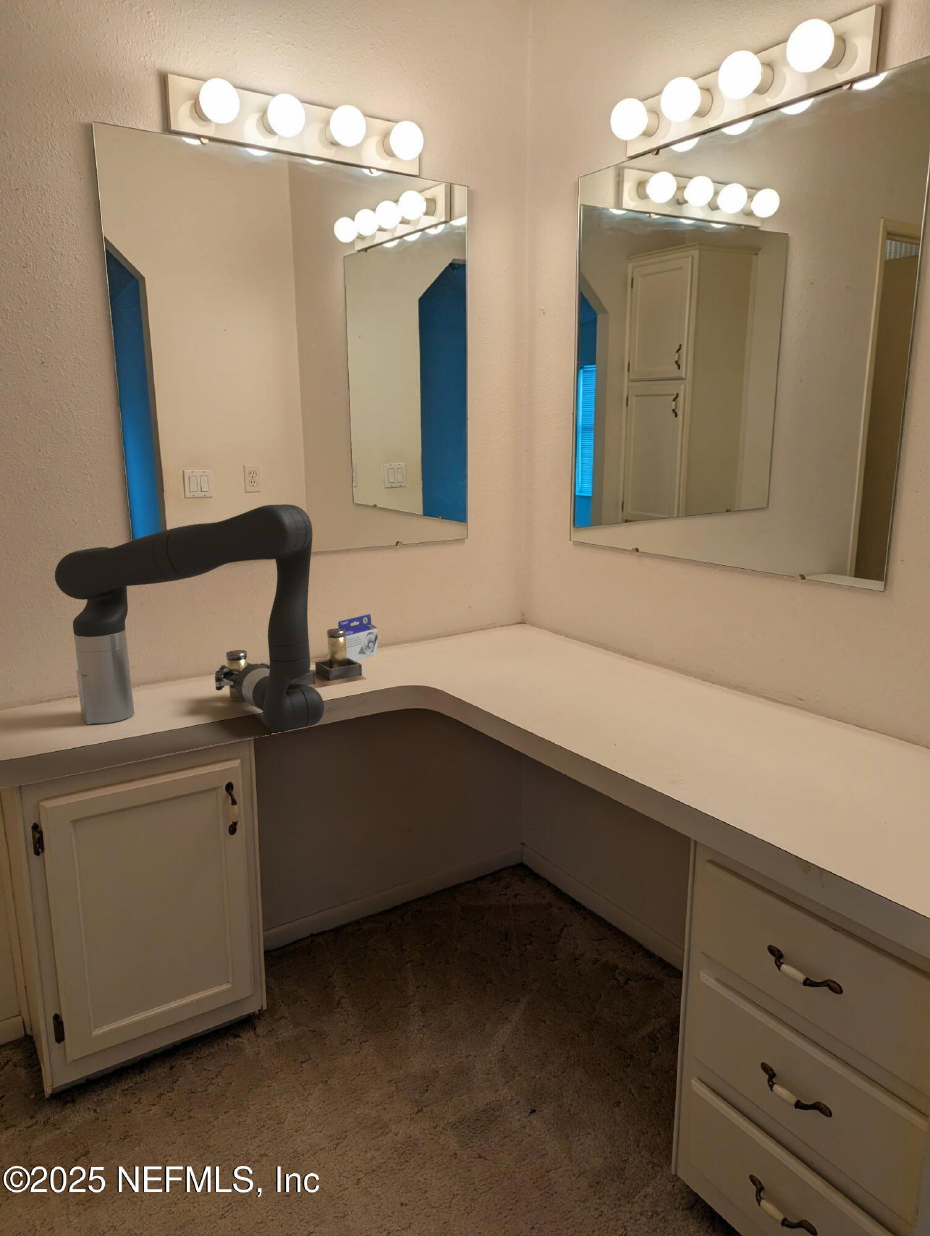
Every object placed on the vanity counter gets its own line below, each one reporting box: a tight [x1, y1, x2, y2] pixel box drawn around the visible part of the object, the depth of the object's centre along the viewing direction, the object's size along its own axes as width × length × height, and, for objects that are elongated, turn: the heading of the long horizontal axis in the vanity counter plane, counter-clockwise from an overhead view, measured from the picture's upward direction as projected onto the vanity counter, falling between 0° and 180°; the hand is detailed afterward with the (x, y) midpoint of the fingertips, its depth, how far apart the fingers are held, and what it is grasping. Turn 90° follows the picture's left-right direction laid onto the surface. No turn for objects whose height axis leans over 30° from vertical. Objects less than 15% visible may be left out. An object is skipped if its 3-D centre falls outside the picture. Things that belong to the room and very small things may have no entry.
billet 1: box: [225, 649, 248, 703], centre depth 176 cm, size 4×4×10 cm
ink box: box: [337, 613, 378, 662], centre depth 200 cm, size 12×2×12 cm, turn 143°
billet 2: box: [326, 627, 347, 669], centre depth 187 cm, size 4×4×10 cm
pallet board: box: [291, 658, 368, 690], centre depth 185 cm, size 19×14×4 cm
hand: (233, 668), depth 178 cm, fingers closed on billet 1, 4 cm apart
